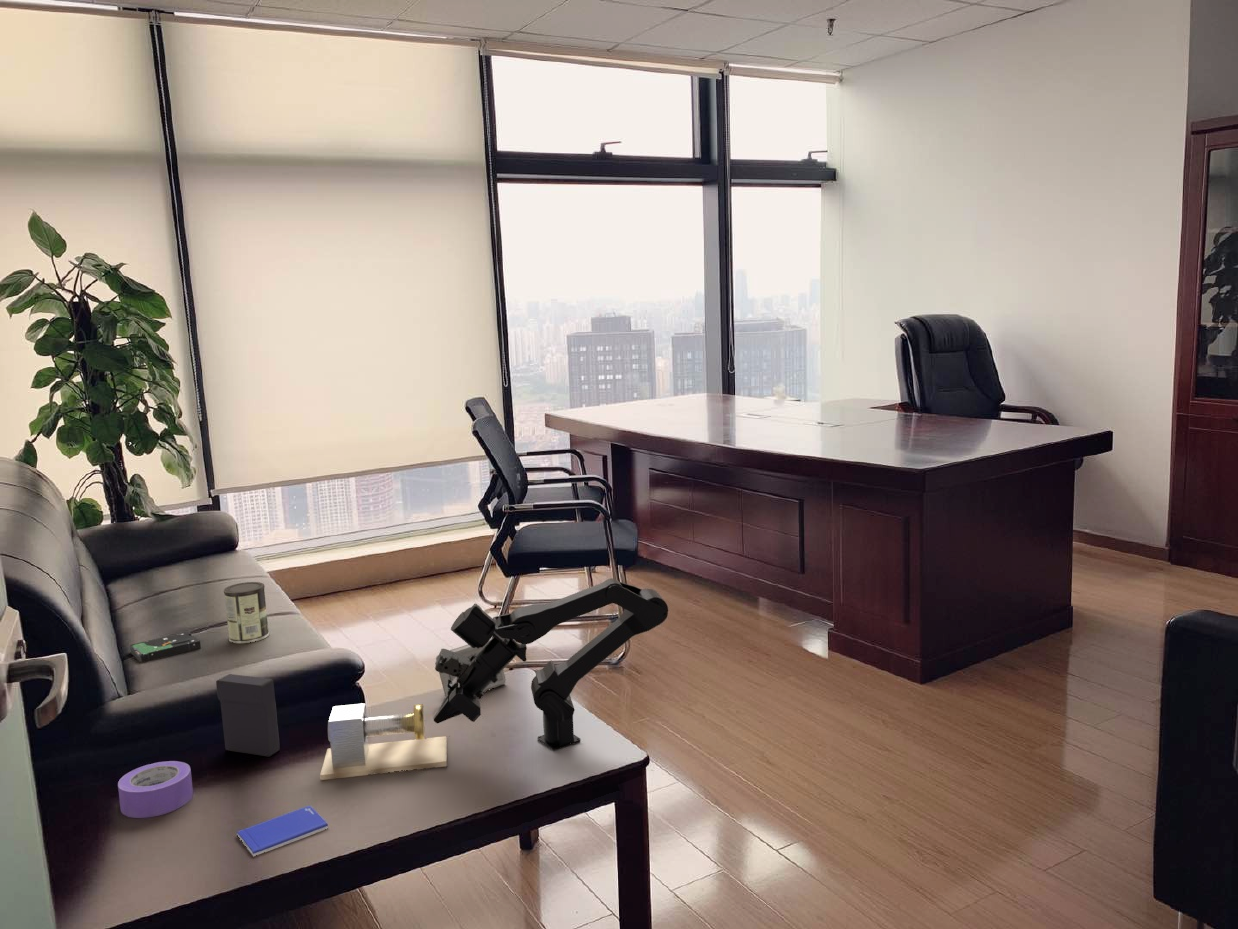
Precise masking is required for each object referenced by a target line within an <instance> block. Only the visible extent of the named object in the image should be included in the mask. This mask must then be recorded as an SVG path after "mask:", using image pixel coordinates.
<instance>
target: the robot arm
mask: <svg viewBox="0 0 1238 929" xmlns="http://www.w3.org/2000/svg"><path fill="white" fill-rule="evenodd" d="M610 604H611V605H612V604H614V605H617V606H618V607H621V608H623V609H624V610H623V611H622V613H621V615H620V616H618V618H617V619H616V620H614V622H613V623H611V624H610V625H608V626H607V627H606V628H605V629H603V630H602V631H601V632H600V633H599V634H597V635H596V636H595V637H594V638H593V639H592V640H590V641H589V642H587V643H586V644H585V645H584V646H582V647H581V648H580V649H579V650H577V652H575V653H574V654H573V655H572V656H571V657H569V658H568V659H567V660H566V661H564V662H561V663H558V664H556V665H555V663H554V662H553V660H550V661H548V662H547V663H546V664H545V665H544V666H543V667H542V668H541V669H539V670H537V671H535V676H534V677H533V678H532V680H531V683H530V684H531V685H530V690H531V695H532V699H533V702H534V705H535V707H536V708H538V709H539V710H540V711H542V724H543V725H542V726H543V734H542V735H539V736H537V741H539V742H540V743H542V744H543V745H544V746H546V747H547V748H548V749H550V750H552V751H556V750H560V749H562V748H566V747H569V746H573V745H575V744H577V743H580V742H581V738H580V737H579V736H577V735H576V734H575V733H574V713H575V710H576V709H575V706H574V703H573V700H572V697H571V693H572V692H573V690H574V689H575V687H576V685H577V683H578V682H579V681H580V680H582V679H583V678H585V676H586V675H587V674H589V673H591V671H593V669H595V668H596V667H598V666H599V665H600V664H601V663H602V662H604V661H605V660H606V659H607V658H609V656H611V655H612V654H613V653H614V652H615V651H617V650H618V649H619V648H621V647H622V646H623V645H624V644H625V643H627V642H628V641H629V640H630V639H632V638H633V637H635V636H637V635H640V634H643V633H647V632H650V631H651V630H653V629H655V628H656V627H658V626H660V625H662V624H663V623H664V622H665V621H666V620H667V618H668V616H669V607H668V604H667V602H666V601H665V600H664V599H663V597H662V595H661V594H660V593H659V592H658V591H656V590H654V589H653V588H643V589H642V588H640V587H637V586H635V585H632V584H629V583H625V582H621V581H619V580H618V579H616V578H608V579H606V580H604V581H603V582H601V583H597V584H595V585H592V586H591V587H588V588H585V589H583V590H580V591H578V592H575V593H573V594H570V595H567V596H564V597H562V598H559V599H557V600H554V601H550V602H547V603H533V604H529V605H524V606H520V607H517V608H515V609H513V611H512V612H510V613H505V614H501V615H496V616H493V617H491V616H490V615H489V614H488V613H487V612H485V611H484V610H483V609H482V607H481V606H480V605H479V604H477V603H476V602H475V603H474V604H473V605H472V606H471V607H468V608H467V609H465V610H464V611H462V612H461V613H460V614H459V615H458V617H456V619H455V621H454V622H453V623H452V624H451V628H450V631H452V632H453V633H454V634H455V635H456V636H458V637H459V638H460V639H462V641H463V642H465V643H466V645H470V646H471V647H472V648H476V647H477V648H478V649H479V648H481V647H483V646H484V645H485V647H484V648H483V649H482V650H481V651H480V652H479V653H478V654H476V653H474V654H471V656H470V657H469V658H468V657H465V656H463V655H461V654H458V653H455V652H453V651H450V650H451V649H450V650H449V649H446V648H441V649H440V650H439V653H438V655H439V656H438V655H437V656H438V658H437V661H436V660H435V667H434V670H435V671H436V672H437V673H439V672H440V673H446V674H449V675H452V676H455V677H456V678H455V679H454V680H453V681H450V680H448V688H447V695H446V697H445V696H444V697H445V698H444V699H443V701H442V702H441V705H439V706H440V707H439V708H438V710H437V712H436V714H435V715H434V717H433V722H435V723H436V724H440V723H442V722H444V721H447V720H450V719H452V718H455V717H457V716H460V715H463V716H465V717H466V718H467V719H468V720H470V721H471V722H473V723H475V721H476V720H477V719H478V718H479V717H480V716H482V715H481V714H482V713H481V711H482V710H481V699H482V697H483V696H484V693H483V691H484V690H485V689H486V688H487V687H488V686H489V684H490V683H491V682H493V683H495V682H496V681H497V680H498V675H499V674H500V673H501V671H502V670H504V669H506V667H508V665H509V664H510V663H511V662H512V661H513V660H514V659H515V658H516V657H518V659H519V660H521V661H522V662H527V650H528V646H527V645H530V644H532V643H534V642H535V641H538V640H539V639H540V638H543V637H544V636H546V635H547V634H548V633H549V632H550V631H552V630H553V629H554V628H555V627H557V626H558V625H560V624H563V623H565V622H568V621H570V620H571V621H572V620H573V619H575V618H578V617H580V616H581V617H582V616H584V615H585V614H589V613H590V612H593V611H596V610H598V609H601V608H603V607H606V606H609V605H610ZM491 638H492V639H491ZM490 639H491V640H490ZM489 640H490V641H489ZM488 641H489V642H488ZM487 642H488V643H487ZM474 695H476V696H474ZM479 699H480V700H479Z"/></svg>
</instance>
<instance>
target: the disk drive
mask: <svg viewBox="0 0 1238 929" xmlns="http://www.w3.org/2000/svg"><path fill="white" fill-rule="evenodd" d="M201 646H202V645H201V640H199V639H198V638H197V637H196V636H195V635H192V633H191V632H190V631H185V632H180V633H177V634H173V635H172V634H171V635H168V636H163V637H158V638H154V639H150V640H146V641H141V642H137V643H132V644H130V645H129V647H130V649H129V650H130V654H131V655H132V656H133V657H134V658H136V659H137V661H138V662H140V663H145V662H149V661H154V660H158V659H162V658H166V657H171V656H175V655H180V654H183V653H187V652H192V651H196V650H199V649H201V648H202V647H201Z"/></svg>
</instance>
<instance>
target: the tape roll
mask: <svg viewBox="0 0 1238 929" xmlns="http://www.w3.org/2000/svg"><path fill="white" fill-rule="evenodd" d="M117 789H118V798H119V806H120V807H119V808H120V812H121V814H122V815H123V816H126V817H128V818H135V819H147V818H155V817H158V816H162V815H163V816H164V815H165V814H169V813H172V812H174V811H175V810H178V809H179V808H182V807H183V806H185V805H186V804H188V803H189V801H191V800H192V798H193V796H194V791H193V790H194V789H193V780H192V771H191V766H190V765H189V764H188V763H186V762H184V761H177V760H169V761H158V762H154V763H151V764H150V763H148V764H146V765H143V766H140V767H137V768H135V769H132V770H131V771H129V772H127V773H125V774H124V775H122V777H121V778H120V779H119V781H118V782H117Z"/></svg>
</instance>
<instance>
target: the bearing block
mask: <svg viewBox="0 0 1238 929" xmlns="http://www.w3.org/2000/svg"><path fill="white" fill-rule="evenodd" d="M364 718H367V709H366V703H354V704H345V705H335V706H332V710H331V713H330V716H329V718H328V719H329V720H328V722H329V732H330V741H329V743H330V748H331V755H332V767H333V769H336V768H345V767H354V766H363V765H366V760H367V755H368V750H369V747H368V744H369V737H364V729H363V719H364Z"/></svg>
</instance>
